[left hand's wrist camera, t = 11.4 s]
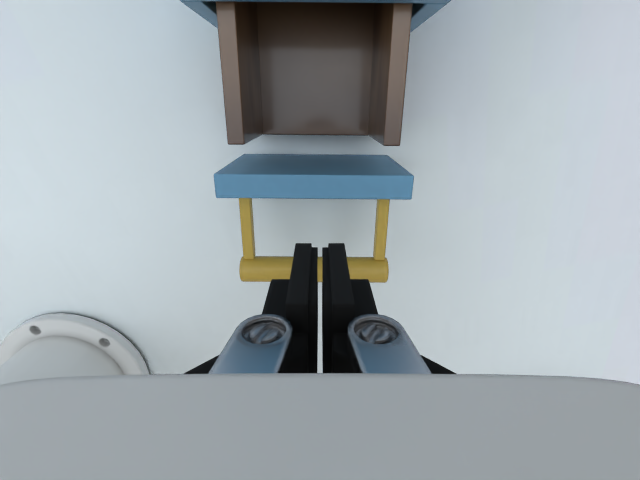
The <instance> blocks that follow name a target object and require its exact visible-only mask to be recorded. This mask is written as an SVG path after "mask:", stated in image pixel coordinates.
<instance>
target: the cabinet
mask: <svg viewBox="0 0 640 480" xmlns="http://www.w3.org/2000/svg"><path fill="white" fill-rule="evenodd" d="M180 1H181V2H182V3H184V4H185V5H186V6H188V7H189V8H191V9H192V10H193V11H195V12H196V13H197V14H199V15H200V16H202V17H203V18H204V19H206V20H207V21H208V22H210V23H211V24H212V25H214V26H215V27H217V28H218V23H217V11H216V1H237V2H345V3H413V5H412V16H411V27H410V32H412V31H413V30H414V29H416V28H417V27H418V26H419V25H421V24H422V23H423V22H424V21H426V20H427V19H428V18H430V17H431V16H432V15H433V14H435V13H436V12H437V11H438V10H440V9H441V8H442V7H444V6H445V5H446V4H447V3H448V2H450V1H451V0H180Z"/></svg>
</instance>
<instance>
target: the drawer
mask: <svg viewBox="0 0 640 480" xmlns="http://www.w3.org/2000/svg"><path fill="white" fill-rule="evenodd" d="M412 5H413V3H345V2H237V1H216V11H217V23H218V34H219V46H220V58H221V69H222V81H223V93H224V104H225V116H226V127H227V139H228V144H236V145H244V144H246V143H248V142H249V141H251V140H253V139H255V138H257V137H259V136H261V135H262V134H272V135H369V136H370V137H372V138H373V139H375V140H376V141H378V142H379V143H381V144H382V145H384V146H400V139H401V128H402V117H403V106H404V94H405V83H406V72H407V61H408V50H409V38H410V27H411V16H412ZM413 180H414V176H413V175H412V174H411V173H409V172H408V171H407V170H406V169H404V168H403V167H402V166H400V165H399V164H398V163H396V162H395V161H394V160H393V159H391V158H390V157H389V156H387V155H298V154H243V155H242V156H240V157H239V158H237V159H236V160H234V161H233V162H231V163H230V164H228V165H227V166H225V167H224V168H222V169H221V170H219V171H218V172H216V173H215V174H214V182H215V192H216V198H239V206H240V218H241V231H242V244H243V257H242V258H241V261H240V278H241V281H246V282H271V280H272V279H290V274H291V268H292V262H293V257H280V256H255V241H254V226H253V211H252V198H295V199H377V209H376V223H375V237H374V252H373V256H374V257H347V262H348V268H349V274H350V279H368V280H369V282H382V283H385V282H387V279H388V261H387V258H385V248H386V236H387V224H388V212H389V200H390V199H411V198H412V189H413ZM318 282H322V257H318Z"/></svg>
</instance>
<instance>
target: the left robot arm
mask: <svg viewBox="0 0 640 480" xmlns="http://www.w3.org/2000/svg"><path fill="white" fill-rule="evenodd" d="M317 342H318V248H312V246H311V243H296V245H295V251H294V257H293V262H292V268H291V274H290V279H272V280H271V283H270V287H269V290H268V294H267V298H266V301H265V305H264V309H263V312H262V315H256V316H253V317H250V318H248V319H246V320H245V321H243V322H241V323H240V325H239V326H238V327H237V328H236V330H235V331H234V333H233V335H232V336H231V338H230V339H229V341H228V343H227V344H226V346H225V347H224V349H223V351H222V352H221V354H220V355H218V356H216V357H214V358H213V359H211V360H209V361H207V362H205V363H203V364H201V365H199V366H197V367H196V368H194V369H192V370H190V371H188V372H186V373H184V374H157V375H149V371H148V369H147V366H146V363H145V361H144V359H143V358H142V356H141V354H140V353H139V351H138V350H137V349H136V348H135V347H134V346H133V344H132V343H131V342H130V341H129V340H127V339H126V338H125V337H124V336H123V335H121V334H120V333H119V332H117V331H116V330H114V329H112V328H111V327H109V326H107V325H106V324H103V323H101V322H98V321H96V320H94V319H91V318H87V317H83V316H80V315H74V314H65V313H56V314H45V315H41V316H37V317H34V318H32V319H30V320H27V321H25V322H23V323H22V324H21V325H19V326H18V327H17V328H15V329H14V330H12V331H11V332H10V333H9V334H8V335H7V336H6V337H5V338H4V339H3V341H2V343H1V345H0V480H640V385H639V384H634V383H628V382H622V381H615V380H607V379H598V378H585V377H567V376H533V375H491V374H456V373H454V372H452V371H450V370H448V369H446V368H444V367H443V366H441V365H439V364H437V363H435V362H433V361H431V360H429V359H427V358H426V357H424V356H422V355H420V354H419V352H418V351H417V349H416V347H415V346H414V344H413V343H412V341H411V339H410V338H409V336H408V335H407V333H406V331H405V330H404V328H403V327H402V326H401V325H400V323H399V322H397V321H395V320H394V319H392V318H390V317H387V316H384V315H378V312H377V309H376V305H375V301H374V298H373V294H372V290H371V287H370V283H369V280H368V279H350V274H349V268H348V262H347V257H346V251H345V245H344V243H329V245H328V248H322V342H323V373H317Z"/></svg>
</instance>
